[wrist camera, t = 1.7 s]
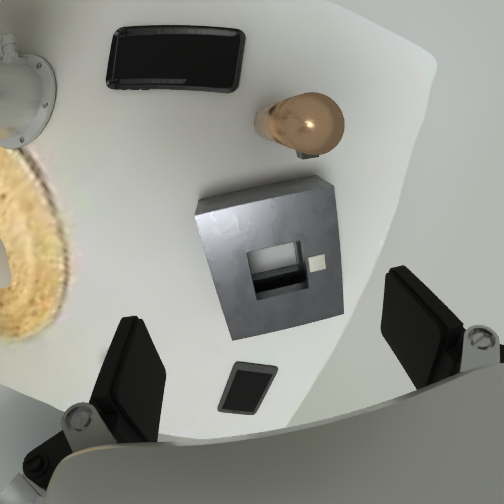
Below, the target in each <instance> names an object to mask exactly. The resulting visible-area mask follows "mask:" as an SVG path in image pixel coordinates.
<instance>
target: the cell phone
mask: <svg viewBox="0 0 504 504" xmlns="http://www.w3.org/2000/svg"><path fill="white" fill-rule="evenodd" d="M277 371H278V368H277V367H276V366H271V365H263V364H255V363H248V362H235V364H234V366H233V368H232V371H231V373H230V376H229V379H228V381H227V384H226V387H225V389H224V392H223V395H222V397H221V400H220V403H219V405H218V411H219V412H224V413H233V414H244V415H254V414H255V413H256V412H257V410H258V408H259V406H260V405H261V403H262V401H263V399H264V397H265V395H266V393H267V391H268V389H269V387H270V385H271V383H272V381H273V379H274V377H275V376H276V374H277Z"/></svg>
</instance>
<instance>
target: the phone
mask: <svg viewBox="0 0 504 504" xmlns="http://www.w3.org/2000/svg"><path fill="white" fill-rule="evenodd" d="M244 45H245V34H244V33H243V32H242V31H241V30H239V29H233V28H223V27H210V26H190V25H150V26H130V27H122V28H119V29H118V30H117V31H116V32H115V33H114V35H113V39H112V44H111V50H110V55H109V61H108V68H107V75H106V85H107V86H108V87H109V88H111V89H115V90H119V89H122V90H127V89H131V90H139V89H141V90H149V89H171V90H193V91H208V92H219V93H231V92H234V91H235V90H236V89H237V87H238V85H239V79H240V72H241V65H242V58H243V52H244Z"/></svg>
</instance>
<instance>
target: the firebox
mask: <svg viewBox="0 0 504 504" xmlns="http://www.w3.org/2000/svg"><path fill="white" fill-rule="evenodd" d="M195 220H196V223H197V227H198V230H199V234H200V237H201V241H202V244H203V248H204V251H205V254H206V258H207V261H208V265H209V268H210V271H211V275H212V278H213V281H214V284H215V288H216V291H217V294H218V297H219V301H220V304H221V307H222V310H223V313H224V316H225V320H226V323H227V326H228V329H229V332H230V335H231V338H232V341H233V340H238V339H243V338H248V337H252V336H257V335H261V334H266V333H270V332H275V331H279V330H283V329H287V328H292V327H296V326H300V325H304V324H308V323H312V322H315V321H319V320H323V319H327V318H331V317H334V316H338V315H341V314H344V304H343V283H342V267H341V253H340V241H339V230H338V219H337V210H336V201H335V192H334V186H333V185H332V184H330V183H328V182H327V181H325V180H324V179H322V178H320V177H319V176H317V175H314V176H308V177H303V178H298V179H293V180H288V181H283V182H278V183H273V184H268V185H263V186H259V187H254V188H250V189H245V190H241V191H236V192H232V193H227V194H223V195H219V196H215V197H210V198H206V199H202V200H199V201H198V205H197V208H196V212H195ZM291 242H294V247H295V253H296V260H297V265H292V266H288V267H284V268H279V269H275V270H271V271H266V272H262V273H258V274H253V275H252V274H251V270H250V266H249V261H248V257H247V253H246V252H251V251H255V250H260V249H264V248H269V247H273V246H277V245H282V244H286V243H291Z"/></svg>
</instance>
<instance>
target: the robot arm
mask: <svg viewBox="0 0 504 504" xmlns="http://www.w3.org/2000/svg"><path fill="white" fill-rule="evenodd" d="M2 50H3V56H2V57H1V59H0V60H1V62H0V146H1V147H3V148H6V149H16V148H20V147H23V146H25V145H27V144H29V143H30V142H31V141H33V140H34V139H35V138H36V137H37V136H38V135H39V134H40V133H41V131H42V130H43V128H44V127H45V125H46V124H47V121H48V119H49V117H50V115H51V112H52V109H53V106H54V101H55V92H56V86H55V78H54V74H53V71H52V69H51V67H50V65H49V64H48V63H47V62H46V60H44V59H43V58H41V57H39V56H36V55H31V54H25V55H20V56H18V52H17V51H15V34H14V33H13V32H11V33H7V34H5V35H4V36H3V37H2ZM381 333H382V335H383V337H384V338H385V340H386V341H387V343H388V344H389V346H390V347H391V349H392V351H393V352H394V354H395V355H396V357H397V358H398V360H399V361H400V363H401V365H402V366H403V368H404V369H405V371H406V373H407V374H408V376H409V377H410V379H411V381H412V382H413V384H414V386H415V387H416V389H417V390H416V391H413V392H410V393H408V394H405V395H402V396H399V397H397V398H394V399H391V400H388V401H386V402H382V403H380V404H377V405H373V406H370V407H367V408H364V409H360V410H357V411H353V412H350V413H346V414H343V415H339V416H335V417H332V418H328V419H324V420H320V421H316V422H311V423H307V424H302V425H298V426H293V427H288V428H283V429H277V430H272V431H266V432H260V433H254V434H247V435H240V436H232V437H223V438H214V439H203V440H189V441H175V442H174V441H173V442H157V438H158V431H159V423H160V415H161V408H162V401H163V394H164V387H165V381H166V370H165V368H164V365H163V363H162V361H161V359H160V357H159V355H158V353H157V350H156V348H155V346H154V344H153V342H152V339H151V337H150V335H149V333H148V330H147V328H146V326H145V323H144V321H143V320H142V319H139V318H138V317H137V316H130V317H123V318H122V319H121V320H120V323H119V325H118V328H117V330H116V332H115V335H114V337H113V340H112V342H111V345H110V347H109V350H108V352H107V355H106V357H105V359H104V362H103V365H102V367H101V370H100V373H99V375H98V378H97V381H96V384H95V386H94V389H93V392H92V395H91V398H90V401H89V403H85V402H82V403H77V404H75V405H72V406H71V407H70V408H68V409H67V410H66V412H65V413H64V415H63V417H62V421H61V425H62V429H63V430H62V431H61V432H59V433H58V434H56V435H55V436H53V437H52V438H50V439H49V440H47V441H46V442H44V443H43V444H41V445H40V446H38V447H36V448H35V449H33V450H32V451H31V452H29V453H28V454H27V456H26V457H25V459H24V462H23V472H24V473H23V474H22V475H21V474H20V473H18V474H17V475H16V477H15V478H14V479H13V480H12V481H11V482H10V483H9V485H8V486H7V487H6V488H5V489H4V490H3V491H2V493H1V494H0V504H504V345H501V344H500V343H499V337H498V335H497V334H496V333H495V332H494V331H493V330H492V329H490V328H489V327H486V326H483V325H475V326H471V327H469V328H468V329H467V330H465V328H464V327H463V323H462V322H461V321H460V320H459V319H458V318H457V317H456V316H455V314H454V313H453V312H452V311H451V310H450V309H448V307H447V306H446V305H445V304H444V303H443V302H442V301H441V300H440V299H439V298H438V297H437V296H436V295H435V294H434V293H433V292H432V291H431V290H430V289H429V288H428V287H427V286H426V285H425V284H424V283H422V282H421V281H420V280H419V279H418V278H417V277H416V276H415V275H414V274H413V273H412V272H411V271H410V270H409V269H408V268H407V267H405V266H403V265H402V266H398V267H394V268H391V269H390V270H389V273H387V274H386V276H385V289H384V301H383V311H382V320H381Z"/></svg>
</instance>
